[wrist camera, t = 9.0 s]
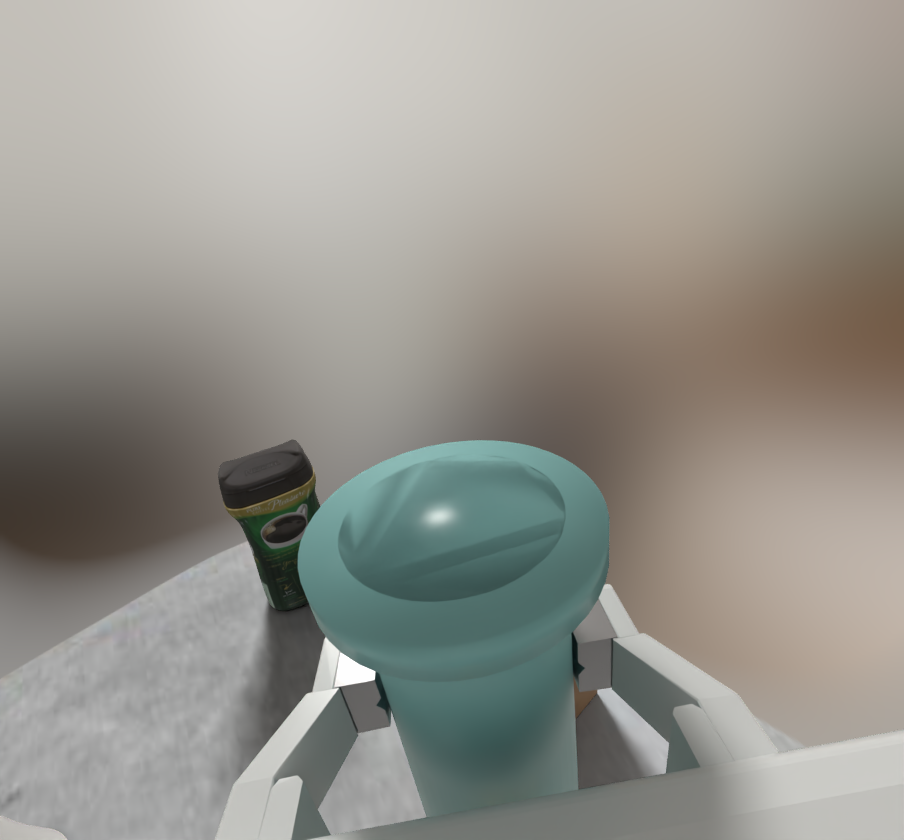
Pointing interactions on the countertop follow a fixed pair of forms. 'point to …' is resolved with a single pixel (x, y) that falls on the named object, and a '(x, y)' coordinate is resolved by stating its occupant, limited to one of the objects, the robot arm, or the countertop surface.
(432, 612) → the stopper cap
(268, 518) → the coffee jar
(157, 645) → the countertop surface
